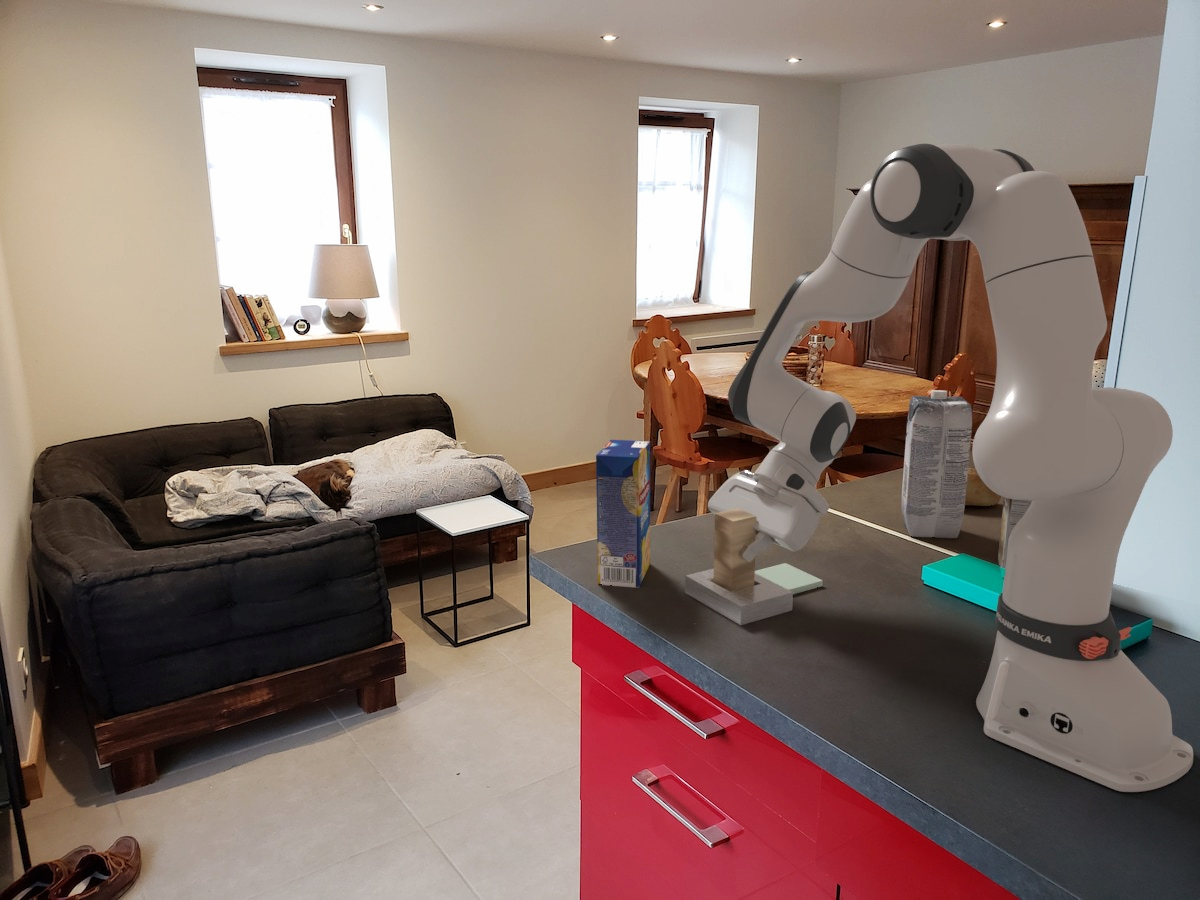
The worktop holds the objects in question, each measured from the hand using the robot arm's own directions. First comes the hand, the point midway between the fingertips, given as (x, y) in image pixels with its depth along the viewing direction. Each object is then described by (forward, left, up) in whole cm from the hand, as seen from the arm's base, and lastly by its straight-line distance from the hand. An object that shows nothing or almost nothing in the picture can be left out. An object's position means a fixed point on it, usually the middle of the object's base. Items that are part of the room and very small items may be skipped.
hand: (731, 552), depth 138 cm
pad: (+1, -12, -8) cm, 14 cm away
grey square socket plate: (-1, -1, -8) cm, 8 cm away
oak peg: (0, -1, -8) cm, 8 cm away
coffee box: (-16, -49, -8) cm, 52 cm away
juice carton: (+5, -52, -8) cm, 52 cm away
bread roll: (+13, -71, -8) cm, 72 cm away
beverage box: (+18, +8, -8) cm, 21 cm away
